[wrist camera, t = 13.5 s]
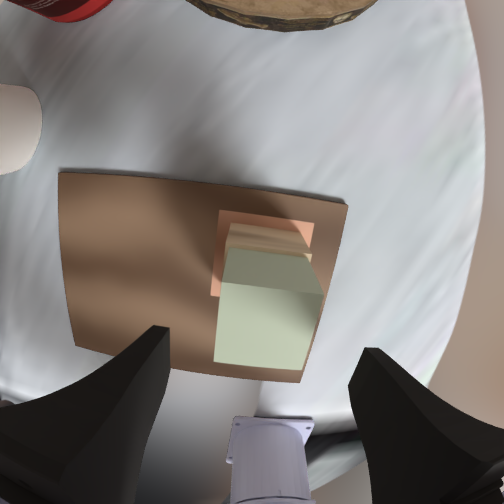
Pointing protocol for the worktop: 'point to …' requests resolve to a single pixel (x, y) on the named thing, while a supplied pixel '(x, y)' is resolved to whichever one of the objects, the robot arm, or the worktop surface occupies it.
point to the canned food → (64, 8)
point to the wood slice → (284, 13)
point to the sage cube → (266, 310)
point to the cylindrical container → (18, 126)
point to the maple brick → (266, 241)
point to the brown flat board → (172, 259)
